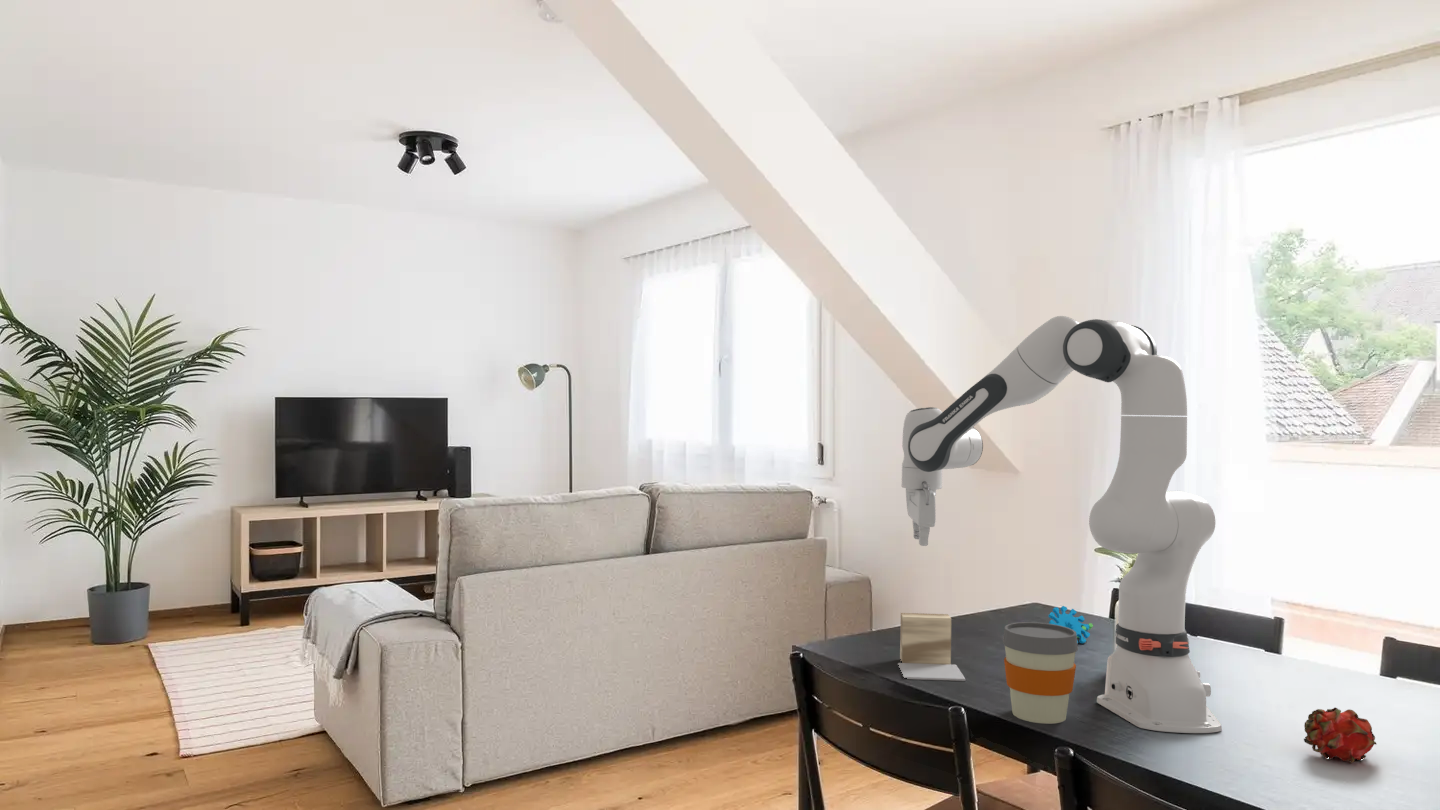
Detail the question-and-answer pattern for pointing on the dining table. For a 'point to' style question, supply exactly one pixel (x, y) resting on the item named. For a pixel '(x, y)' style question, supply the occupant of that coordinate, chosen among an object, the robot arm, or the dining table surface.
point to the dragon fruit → (1339, 734)
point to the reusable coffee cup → (1039, 670)
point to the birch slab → (925, 638)
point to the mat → (931, 671)
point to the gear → (1071, 622)
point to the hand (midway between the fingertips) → (920, 542)
